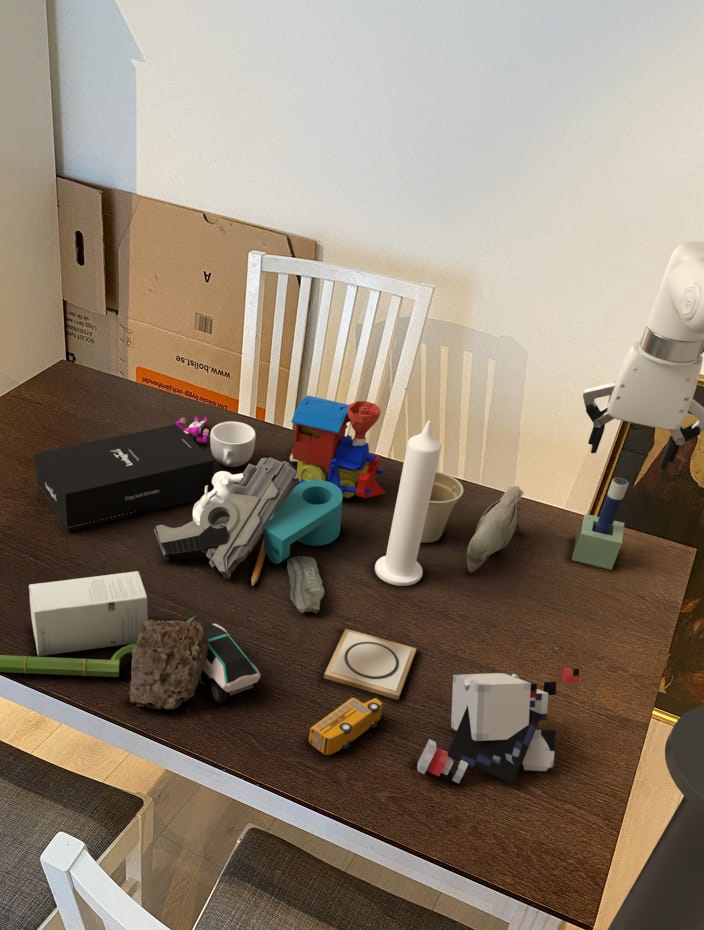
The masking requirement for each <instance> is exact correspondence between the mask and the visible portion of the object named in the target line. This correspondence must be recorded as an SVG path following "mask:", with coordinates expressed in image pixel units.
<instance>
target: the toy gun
mask: <svg viewBox="0 0 704 930" xmlns="http://www.w3.org/2000/svg"><path fill="white" fill-rule="evenodd" d="M242 473H243V476H244V477H242V478H241V482H239V483H238V482H237V483H234V484H233V485H232V486H231V488H230V489H229V493H230V494H229V495H228V497H227V499H226V500H224V502H223V504H215V505H214V503H213V502H211V503H210V504H208V505H207V506H206V507H205V508H204V509H203V511H202V513H201V515H200V525H197V524H196V522H195V521H193V520H191V521H190V522H187V523H186V524H184V525H182V526H178V527H170V526H167V525H164V524H159V525H156V526H155V528H153V530H154V534H155V536H156V539H157V540H158V545H159V547H160V549H161V551H162V554H163V556H164V558H165V559H166V560H167V561H170V560H172V561H176V560H182V559H191V558H198V557H204V556H205V557H206V558H207V559H208V561H209V562H208V564H209V565H210V567H211V568H212V570H213V571H214V572H216V571H219V573H220V574H221V576H222V578H223V579H229V580H230V579H231V578H230V577H231V576H232V573H234V571H235V569H236V568H237V566H238V565H239V564H241V562H243V561H244V560H246V558H247V556H248V555H249V554H250V553H251V552H252V551H253V549H254V547H255V546H256V545H257V543H258V540H260V538H261V536H262V535H263V534H264V528H265V526H266V525H267V524H268V522H269V521H270V518H271V517H272V515H273V514H275V513H276V511H277V510H278V508H279V507H280V504H281V503H282V501H283V499H284V498H285V496H286V494H287V492H288V491H289V489H290V488H291V486H292V484H293V483H294V481H295V482H299V479H298V476H297V469H295V468H294V467H293V465H292V464H290V463H289V462H287V461H285V460H283V461H280V460H278V459H275V458H272V457H268V458H267V457H262V458H260V460H259V461H258V463H257V465H254V464H251V463H248V465H247V466H246V468H245V470H244V471H243V472H242ZM222 517H229V518H230V519H229V521H228V523H227V524H226V525H225V524H223V523H222V524H220V525H214V524H215V522H216V521H217V520H218V519H219V518H222Z"/></svg>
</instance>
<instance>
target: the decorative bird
mask: <svg viewBox="0 0 704 930" xmlns="http://www.w3.org/2000/svg"><path fill="white" fill-rule="evenodd" d="M523 495H524V491H523V490H522V489H521V487H520V486H517V485H514V486H510V487H509V488H508V489H507V490H506V491H505V492H504V493H503V495H502V496H501V497H500V498H499V499H498V500H497V501H495V502H493V503H492V504H491V505H489V506H488V507H487V509H486V510H485V511H484V513H483V514H482V516H481V517H480V519H479V520H478V523H477V526H476V529H475V532H474V535H473V536H472V537H471V539H470V540H469V543H468V546H467V548H466V564H467V569H468V572H469V573H470V574H472V573H473V572H476V571H477V570H478V569H479V568H480V567H481V566H482V565H483V564H484V562H485V561H487V560H488V559H489V557H490V556H491V555H492V554H494V553H496V552H499V551H501V550H503V549H504V548H505V547H506V546H507V545H508V544H509V542H510V541H511V540H512V537H513V535H514V534H515V531H516V529H517V530H518V532H521V530H520V527H519V525H518V524H519V516H520V504H519V502H521V500H522V496H523Z"/></svg>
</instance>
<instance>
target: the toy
mask: <svg viewBox="0 0 704 930" xmlns="http://www.w3.org/2000/svg"><path fill="white" fill-rule="evenodd" d="M579 681H580V668H578V667H563V669H562V683H566V684H572V683H575V684H576V683H579ZM556 694H557V681H544V682H543V690H542V689H538V683H531V682H529V681H527V680H523V679H521V678H520V677H519V676H518V674H517V673H512V674H511V675H510V674H507V673H505V672H493V673H492V672H490V673H489V672H488V673H468V674H467V673H465V674H464V673H463V674H460V673H459V674H453V675H452V693H451V695H452V696H451V716H450V717H451V719H450V720H451V721H450V729H453V730H455V731H456V732H455V733H454V736H453V738H452V741H451V743H450V746H449V748H448V750H445V749H442V748H440V747H438V746H437V742H436V741H434V740H433V739H430V738H429V739H428V740H427V743H426V745H425V747H424V749H423V751H422V753H421V755H420V757H419V759H418V762H417V763H416V764H417V765H416V766H417V772H418V773H420V774H422V775H425V774H426V772H429V773H430V774H433V775H435V776H436V777H437V776H438V777H440V775H441V774H443V775H445V776H448V775H449V773H452V774H453V775H452V777H451V781H452V782H455V783H456V784H460V783H461V780H462V778H463V776H464V774H465V772H466V770H467V768H468V766H470V767H472V768H474V769H476V770H478V771H481V772H483V773H485V774H487V775H489V776H491V777H494V778H496V779H498V780H500V781H503V782H505V783H507V784H510V785H512V786H514V784H515V782H516V780H517V777H518V775H519V772H520V771H532V772H533V771H535V772H554V768H555V767H554V766H555V751H556V735H557V734H556V733H557V731H556V730H552V729H551V730H549V729H548V730H547V729H537V728H538V725H539V722H540V721H541V722H542V721H548V706H549V696H556ZM454 760H457V761H458V762H459V763H458V765H457V764H454Z"/></svg>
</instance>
